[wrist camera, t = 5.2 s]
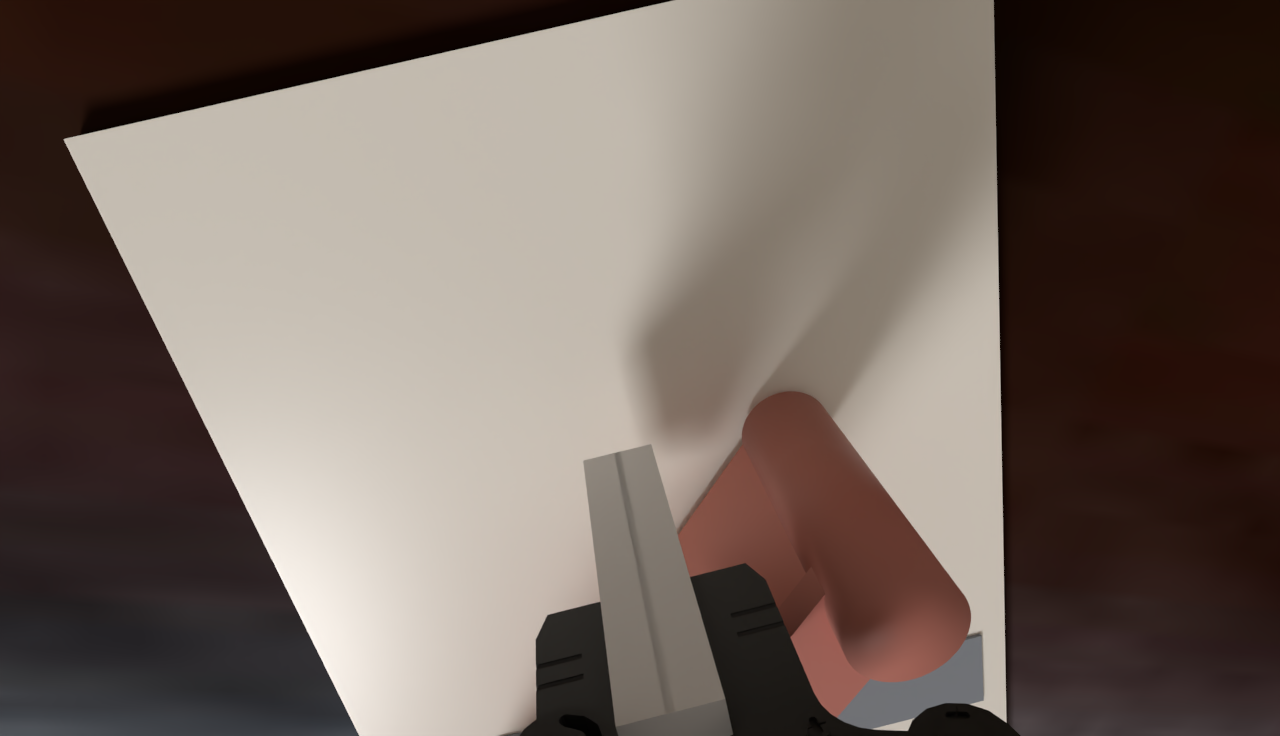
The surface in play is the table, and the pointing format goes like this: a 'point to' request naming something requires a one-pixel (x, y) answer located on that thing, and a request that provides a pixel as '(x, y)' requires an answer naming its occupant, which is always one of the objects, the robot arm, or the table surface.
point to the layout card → (578, 314)
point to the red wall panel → (828, 553)
